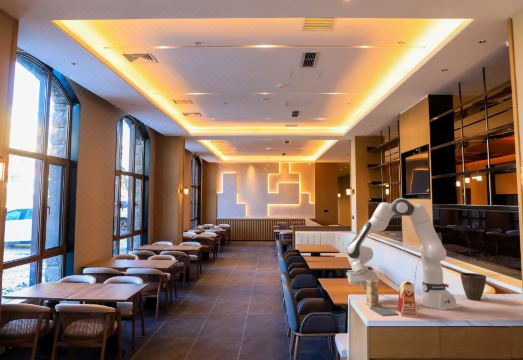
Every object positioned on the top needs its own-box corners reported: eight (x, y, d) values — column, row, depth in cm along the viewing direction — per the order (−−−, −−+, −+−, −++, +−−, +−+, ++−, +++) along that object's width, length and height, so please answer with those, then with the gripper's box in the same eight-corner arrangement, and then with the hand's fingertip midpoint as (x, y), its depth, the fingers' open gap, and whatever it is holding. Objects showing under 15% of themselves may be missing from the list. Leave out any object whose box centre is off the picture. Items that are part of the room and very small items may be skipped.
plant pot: (492, 302, 223) (491, 277, 224) (468, 302, 224) (468, 277, 225) (478, 296, 238) (477, 273, 239) (456, 296, 239) (455, 272, 240)
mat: (384, 307, 208) (384, 306, 208) (398, 314, 195) (398, 313, 195) (369, 308, 206) (369, 307, 206) (382, 315, 193) (382, 314, 193)
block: (374, 304, 215) (373, 279, 216) (378, 306, 210) (378, 281, 211) (366, 304, 214) (366, 280, 215) (371, 307, 209) (370, 281, 210)
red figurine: (418, 317, 192) (417, 280, 193) (401, 316, 193) (400, 279, 194) (413, 312, 201) (412, 277, 202) (396, 311, 202) (396, 276, 203)
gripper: (346, 268, 225) (353, 287, 215) (375, 267, 230) (383, 286, 219) (343, 274, 229) (350, 292, 219) (371, 273, 234) (379, 291, 223)
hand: (367, 289), depth 219 cm, fingers open, 2 cm apart
